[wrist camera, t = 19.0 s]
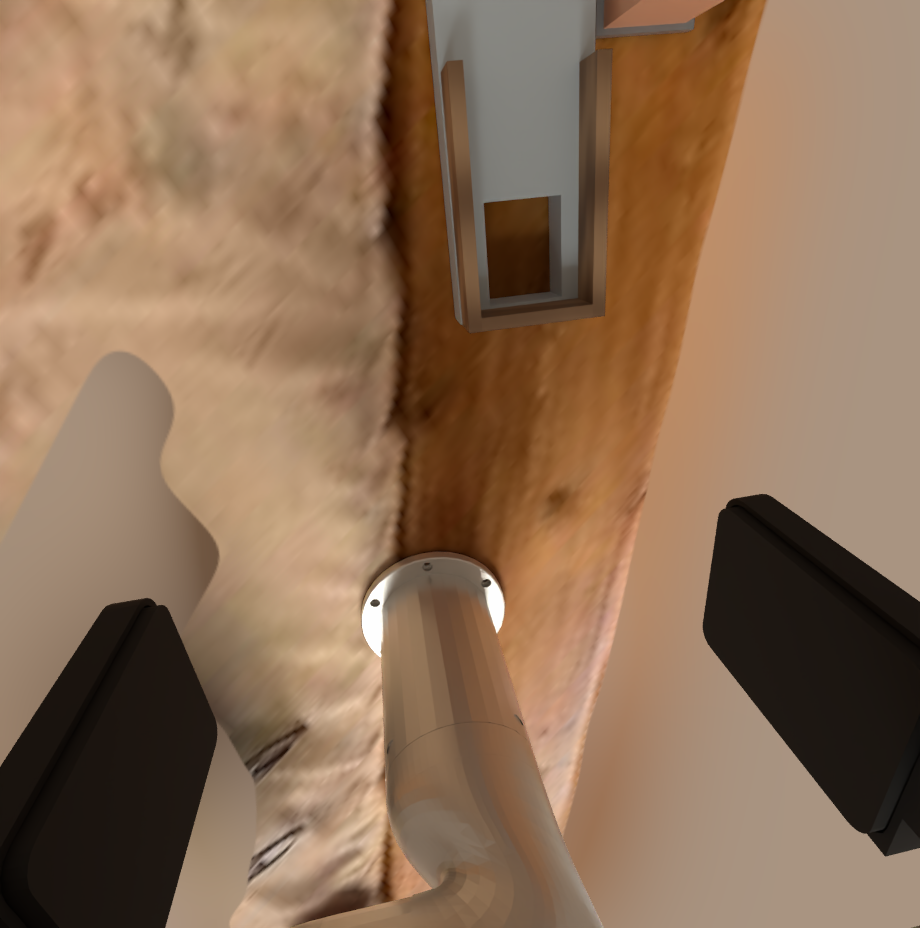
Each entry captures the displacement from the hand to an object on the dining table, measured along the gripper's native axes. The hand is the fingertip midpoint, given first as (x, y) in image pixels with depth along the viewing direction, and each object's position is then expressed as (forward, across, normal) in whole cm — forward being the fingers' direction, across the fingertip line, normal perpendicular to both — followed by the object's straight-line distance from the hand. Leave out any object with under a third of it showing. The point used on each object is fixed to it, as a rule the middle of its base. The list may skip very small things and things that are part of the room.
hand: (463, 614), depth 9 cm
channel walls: (+28, -9, -6) cm, 30 cm away
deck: (+30, -9, -10) cm, 33 cm away
